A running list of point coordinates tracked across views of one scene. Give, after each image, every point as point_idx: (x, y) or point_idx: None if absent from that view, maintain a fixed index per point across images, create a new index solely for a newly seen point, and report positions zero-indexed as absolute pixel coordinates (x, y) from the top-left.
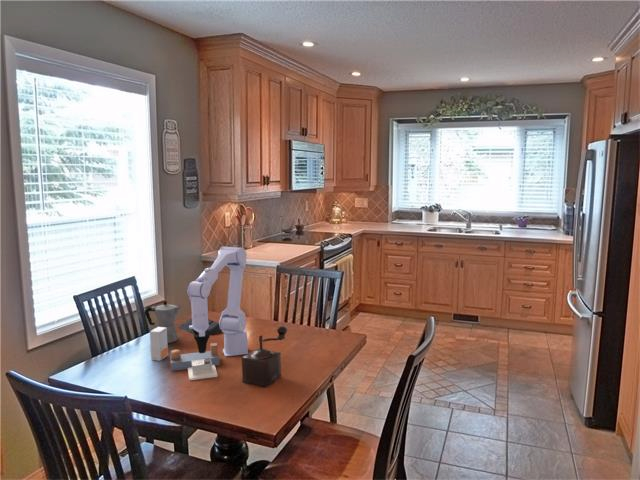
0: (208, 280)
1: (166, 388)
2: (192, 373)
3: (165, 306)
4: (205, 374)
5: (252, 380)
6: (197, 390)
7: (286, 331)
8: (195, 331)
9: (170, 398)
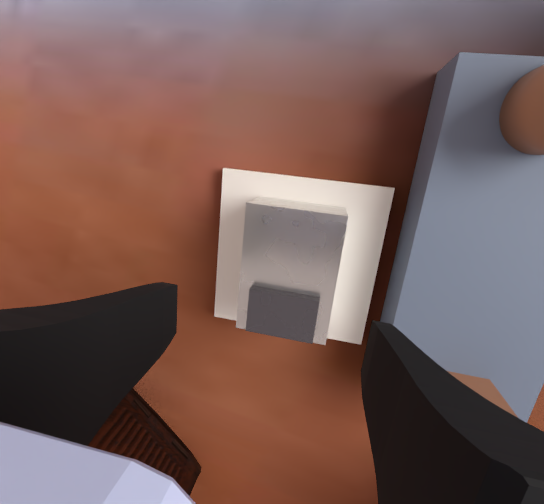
0: None
1: (171, 18)
2: (284, 199)
3: None
4: (240, 263)
5: None
6: (100, 185)
7: None
8: (438, 465)
9: (48, 34)
